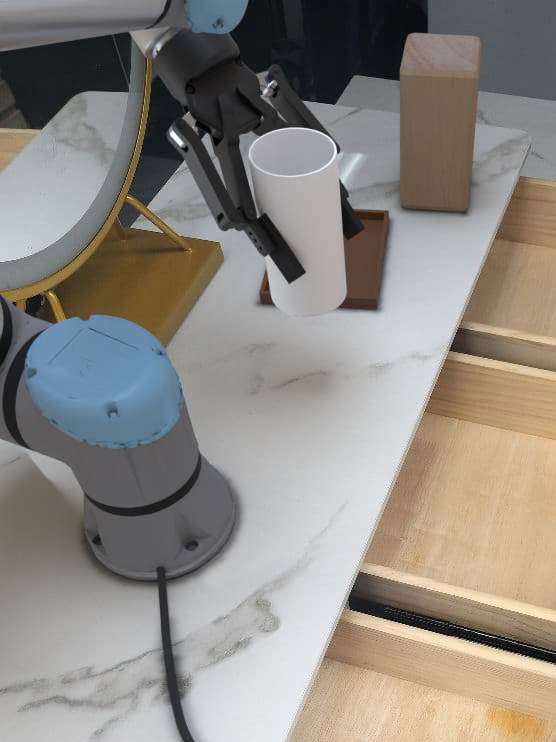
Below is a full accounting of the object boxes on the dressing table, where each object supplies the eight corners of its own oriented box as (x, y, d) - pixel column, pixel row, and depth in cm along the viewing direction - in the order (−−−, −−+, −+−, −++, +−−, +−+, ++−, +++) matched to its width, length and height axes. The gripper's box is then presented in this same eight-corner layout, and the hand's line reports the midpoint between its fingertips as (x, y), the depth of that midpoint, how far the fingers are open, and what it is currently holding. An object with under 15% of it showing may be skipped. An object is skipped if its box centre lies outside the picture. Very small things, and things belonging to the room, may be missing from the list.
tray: (376, 309, 106) (376, 298, 104) (261, 303, 106) (259, 293, 105) (389, 220, 117) (388, 210, 115) (283, 216, 117) (282, 205, 116)
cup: (260, 279, 90) (236, 139, 76) (330, 260, 92) (318, 119, 78) (286, 326, 85) (265, 185, 72) (358, 304, 87) (350, 164, 74)
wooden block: (471, 175, 123) (482, 32, 107) (468, 214, 118) (479, 70, 101) (406, 171, 124) (406, 29, 107) (399, 210, 118) (398, 66, 102)
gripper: (102, 61, 67) (271, 299, 75) (279, -27, 76) (413, 193, 84) (82, 104, 73) (239, 320, 81) (247, 18, 82) (374, 219, 90)
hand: (327, 255), depth 82 cm, fingers closed on cup, 8 cm apart
